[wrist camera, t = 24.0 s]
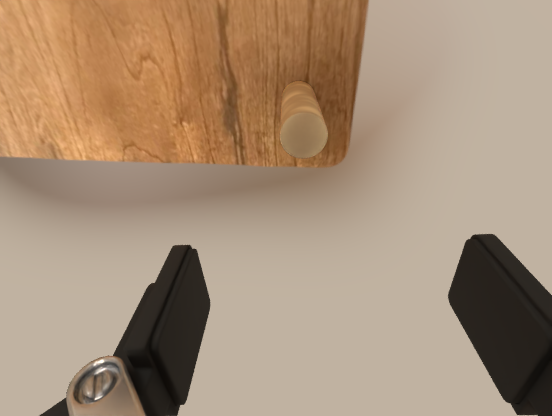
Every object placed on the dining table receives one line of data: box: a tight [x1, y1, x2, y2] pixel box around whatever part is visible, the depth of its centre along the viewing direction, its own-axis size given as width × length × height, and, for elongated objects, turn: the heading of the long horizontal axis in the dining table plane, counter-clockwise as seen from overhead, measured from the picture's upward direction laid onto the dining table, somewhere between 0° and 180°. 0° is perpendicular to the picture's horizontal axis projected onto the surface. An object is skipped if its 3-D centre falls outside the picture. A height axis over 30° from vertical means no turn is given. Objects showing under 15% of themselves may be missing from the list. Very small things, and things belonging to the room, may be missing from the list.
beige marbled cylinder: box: [280, 81, 328, 159], centre depth 28 cm, size 4×4×12 cm
